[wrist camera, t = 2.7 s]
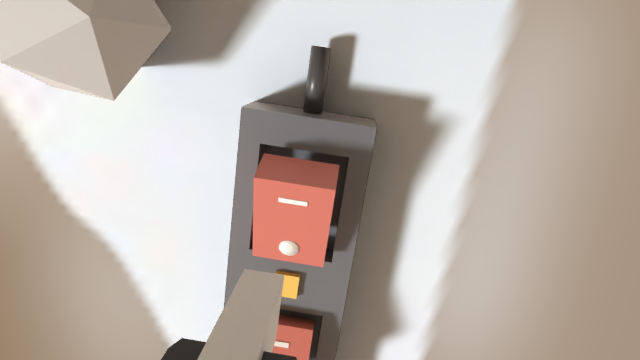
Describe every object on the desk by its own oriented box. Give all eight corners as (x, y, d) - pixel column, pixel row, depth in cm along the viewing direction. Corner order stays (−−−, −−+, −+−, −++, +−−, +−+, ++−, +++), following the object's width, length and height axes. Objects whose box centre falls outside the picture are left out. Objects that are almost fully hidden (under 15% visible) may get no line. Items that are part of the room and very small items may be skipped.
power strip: (260, 38, 27) (246, 35, 23) (385, 56, 27) (390, 56, 23) (228, 372, 34) (213, 410, 31) (326, 389, 34) (322, 429, 30)
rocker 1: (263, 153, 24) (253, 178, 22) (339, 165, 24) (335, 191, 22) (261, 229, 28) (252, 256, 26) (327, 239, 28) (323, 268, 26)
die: (217, 16, 28) (100, -137, 19) (160, 139, 26) (-2, 35, 17) (123, 6, 31) (-16, -129, 22) (65, 115, 29) (-114, 16, 20)
